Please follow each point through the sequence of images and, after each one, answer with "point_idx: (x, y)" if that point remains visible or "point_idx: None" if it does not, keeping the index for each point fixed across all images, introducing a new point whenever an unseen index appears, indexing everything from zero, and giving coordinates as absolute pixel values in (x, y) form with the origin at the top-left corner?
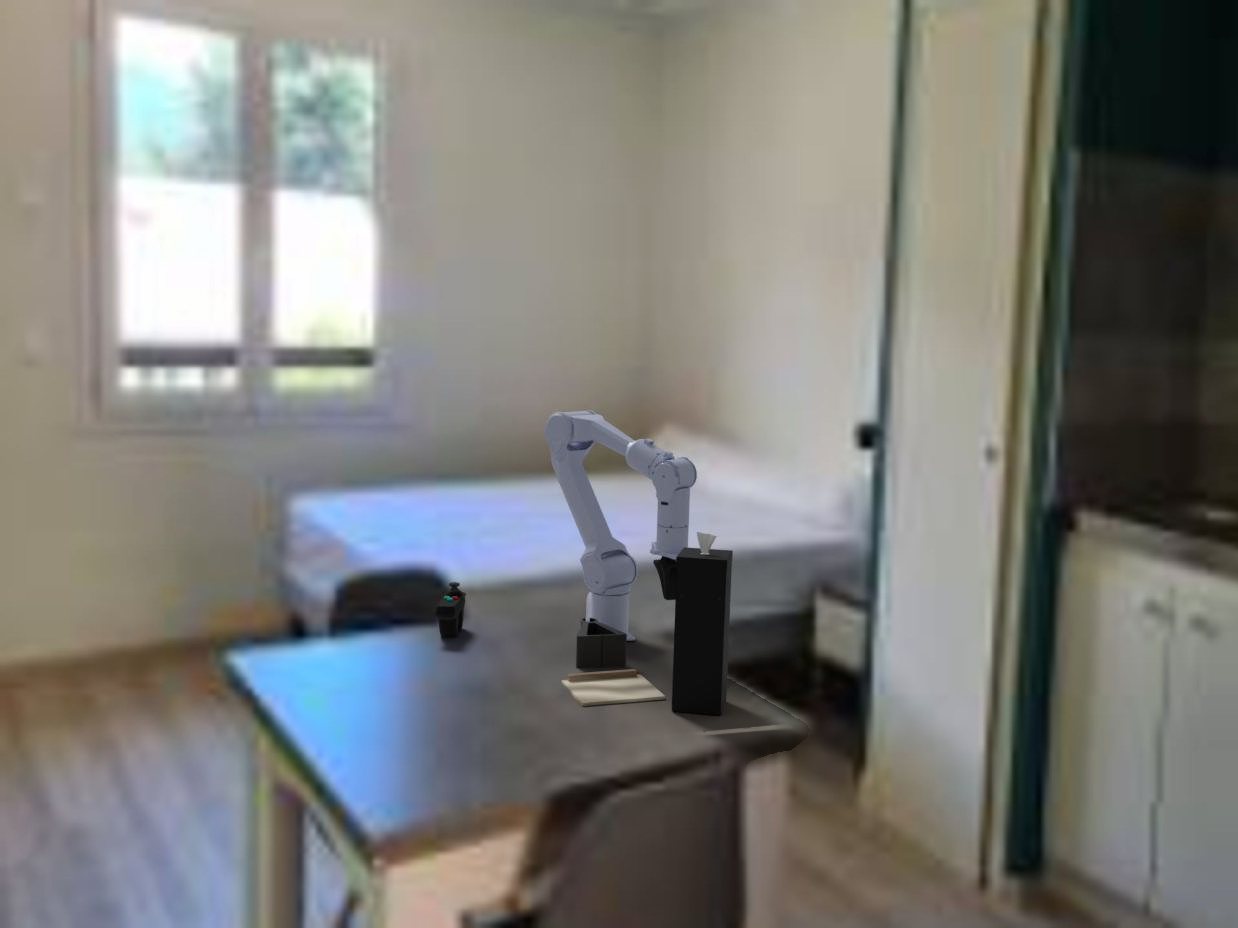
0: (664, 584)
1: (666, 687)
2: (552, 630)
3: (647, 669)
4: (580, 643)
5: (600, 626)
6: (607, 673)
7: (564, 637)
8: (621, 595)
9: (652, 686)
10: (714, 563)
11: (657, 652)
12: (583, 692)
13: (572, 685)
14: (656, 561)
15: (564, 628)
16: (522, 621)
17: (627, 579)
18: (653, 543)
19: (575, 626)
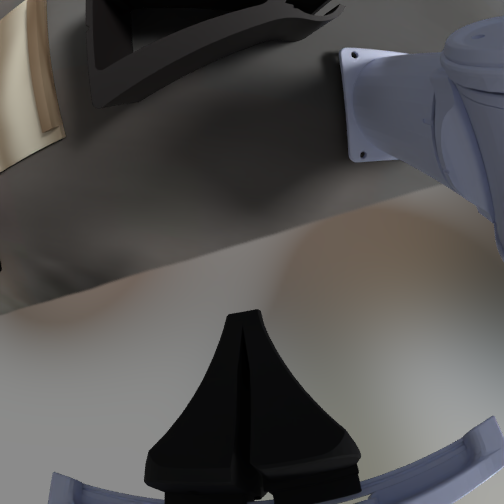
0: (220, 366)
1: (23, 188)
2: (459, 21)
3: (118, 154)
4: None
5: (220, 16)
6: (31, 69)
7: (415, 16)
8: (433, 149)
9: (7, 164)
10: None
11: (264, 197)
12: None
13: (15, 16)
14: (290, 469)
15: None
16: (499, 9)
17: (496, 211)
18: (489, 476)
19: None
